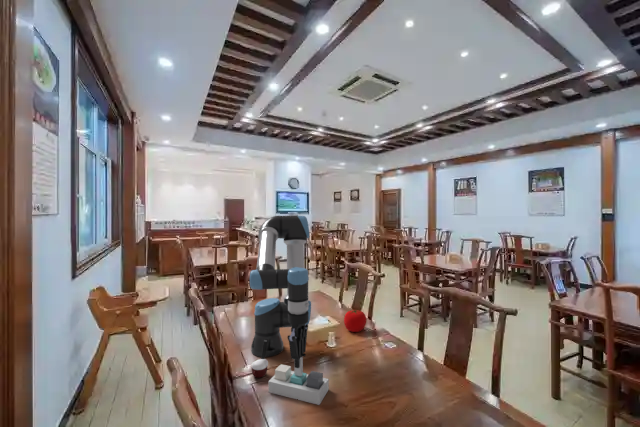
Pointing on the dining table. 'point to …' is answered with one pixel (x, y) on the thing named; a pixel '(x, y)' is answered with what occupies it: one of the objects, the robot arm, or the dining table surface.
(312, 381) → the charcoal key
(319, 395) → the console
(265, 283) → the robot arm
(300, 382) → the teal key
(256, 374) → the cocoa
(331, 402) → the dining table surface
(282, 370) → the ivory key
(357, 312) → the red apple
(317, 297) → the dining table surface
